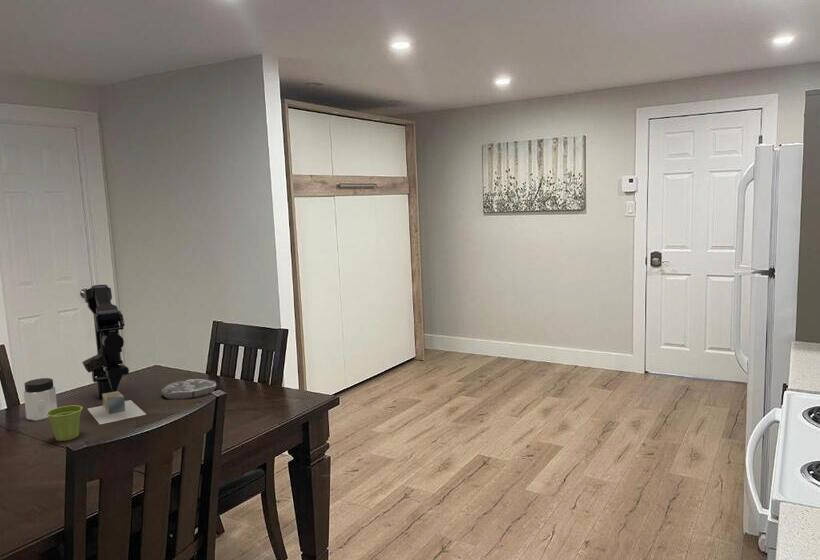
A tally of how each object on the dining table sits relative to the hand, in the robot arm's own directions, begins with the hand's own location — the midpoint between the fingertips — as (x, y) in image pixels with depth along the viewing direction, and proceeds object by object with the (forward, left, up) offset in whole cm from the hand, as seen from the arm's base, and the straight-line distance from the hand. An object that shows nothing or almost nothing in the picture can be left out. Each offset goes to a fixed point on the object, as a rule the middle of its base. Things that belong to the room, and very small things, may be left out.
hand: (114, 391), depth 205 cm
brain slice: (-6, +26, -8) cm, 28 cm away
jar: (-13, -20, -8) cm, 25 cm away
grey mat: (0, 0, -7) cm, 7 cm away
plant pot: (+15, -17, -8) cm, 24 cm away
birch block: (+2, 0, -4) cm, 5 cm away
